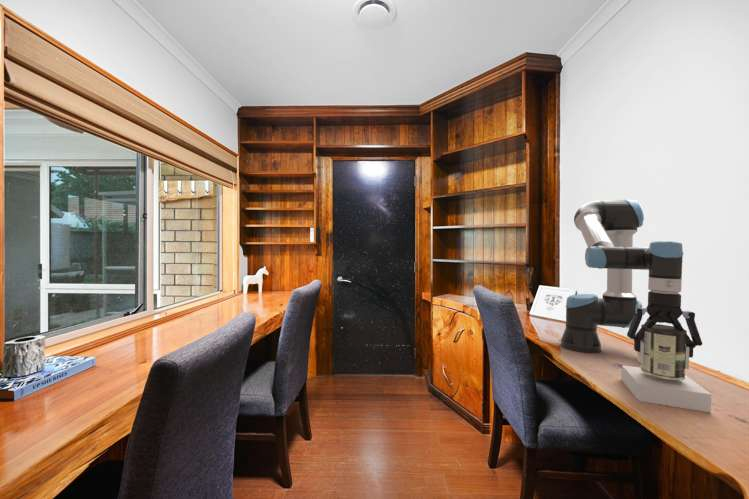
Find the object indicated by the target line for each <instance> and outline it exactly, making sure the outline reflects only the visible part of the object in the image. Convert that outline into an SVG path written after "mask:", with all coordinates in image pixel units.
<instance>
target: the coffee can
mask: <svg viewBox="0 0 749 499" xmlns="http://www.w3.org/2000/svg"><path fill="white" fill-rule="evenodd" d="M644 324H645V323H642V324H641V325H640V326H641V327H642V329H645V337H644V338H643V339H642V341H643V342H644V364H642V363H640V368H641V371H642V372H644V373H646V374H648V375H651V376H654V377H658V378H662V379H667V380H684V379H685V375H686V369H685V348H686V333H687V332H688V331H687V330H686V329H684V330H685V331H684V330H683V331H679V330H677V329H675V327H674V326H673V325H668V324H667V325H666V324H661V323H660V324H657V323H656V324H655V325H653V327H652V328H648V327H645V326H643V325H644ZM687 334H688V333H687Z"/></svg>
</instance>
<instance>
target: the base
mask: <svg viewBox="0 0 749 499" xmlns="http://www.w3.org/2000/svg"><path fill="white" fill-rule="evenodd" d="M621 381H622V383H623V384H624V385H625V386H626V388H627V389H628V390H629V391H630V392H631V394H632V396H634V397H635V399H636V400H637V402H642V403H647V404H654V405H660V404H661V406H666V405H668V407H674V408H679V407H680V409H684V410H685V409H686V410H692V411H693V410H694V411H699V412H706V413H711V412H712V394H711V393H710V392H709V391H708V390H706V389H705V388H704V387H702V386H701V385H700V384H698V382H695V381H694V380H693V379H692V378H690V377H689V376H688V375H686V374H685V379H684V380H667V379H662V378H658V377H654V376H651V375H648V374H646V373H644V372H642V371H641V367H638V366H630V365H625V364H624V365H623V364H622V365H621Z"/></svg>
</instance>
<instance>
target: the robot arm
mask: <svg viewBox="0 0 749 499" xmlns="http://www.w3.org/2000/svg"><path fill="white" fill-rule="evenodd" d="M644 219H645V215H644V209H643V206H642V205H641V203H640V202H639V201H638V200H636V199H614V200H613V199H612V200H594V201H593V200H592V201H590V202H589V201H588V202H586V203H585V204H583V205H582V206H581V207H579V208H578V209H577V211H576V212H575V214H574V217H573V223H574V225H575V227H576V229H577V230H579V231H580V232H581V234H582V238H583V239H584V241H585V244H586V246H587V247H586V249H585V254H584V261H585V265H586V266H587V267H588V268H593V269H598V270H602V269H606V276H607V277H606V291H605V292H604V293H602V298H601V297H598V295H596V294H594V293H593V294H591V293H590V294H589V293H582V294H581V293H579V294H572V295H569V296H568V297H566V303H565V329H564V330H563V332H562V336H561V339H560V345H561V346H562V347H563V348H564V349H565V348H566V349H568V350H571V351H576V352H580V353H581V352H582V353H590V354H591V353H593V354H595V353H600V352H601V351H602V343H601V341H600V338H599V334H598V332H597V331H598V328H597V327H598V326H604V327H605V326H606V327H615V328H622V329H625V328H626V329H627V328H628V331H627V333H626V336H627V337H628V338H629V339H630V340H633V350H634V351H635V352H636V353H637V361H638V363H640V364H641V363H642V364H644V342H643V341H641V340H642V339H643V338H644V337H645V329H642V327H641V328H639V326H640V324H641V321H642V319H643V316H644V315H645V314H646V313H647V314H648V315H649V316H648V317H647V319H646V320H645V322H644V323H643V324H644V325H643V326H645V327H648V328H652V327H653V325H655V324H657V323H660V324H661V323H662V324H664V323H666V324H669V325H671V326H673V327H675V329H677V330H679V331H683V330H684V331H685V330H686V329H684V328H683V326H682V324H681V322H680V321H679V318H680V317H681V316H683V318H684V319H685V322H686V326H687V327H688V328H687V329H688V331H689V334H690V336H689V334H688V333H686V348H685V370H689V368H690V367H689V366H690V358H693V357H694V348H696V347H697V346H699V347H701V346H702V345H703V341H702V339H701V335H700V332H699V329H698V327H697V324H696V321H695V320H696V319H695V318H696V313H695V312H693V311H690V310H682V307H681V306H682V295H681V294H680V293H681V292H682V284H683V282H682V281H683V278H682V276H683V273H682V272H683V256H684V252H683V250H684V249H683V243H682V242H681V241H679V240H678V241H676V240H675V241H674V240H672V241H669V240H661V241H660V240H659V241H656V240H653V241H650V243H649V246H643V247H642V246H634V245H633V244H634V243H633V242H634V241H633V240H634V239H633V236H634V235H635V234H636V233H637V232H638V228H642V226H643V225H644ZM633 270H639V271H640V270H645V271H646V270H647V271H648V286H647V289H648V290H649V291H648V293H647V306H646V307H643V303H642V302H641V301H640V300H638V299H637V297H638V296H637V295H635V294H634V293H633ZM690 337H691V338H690Z"/></svg>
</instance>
